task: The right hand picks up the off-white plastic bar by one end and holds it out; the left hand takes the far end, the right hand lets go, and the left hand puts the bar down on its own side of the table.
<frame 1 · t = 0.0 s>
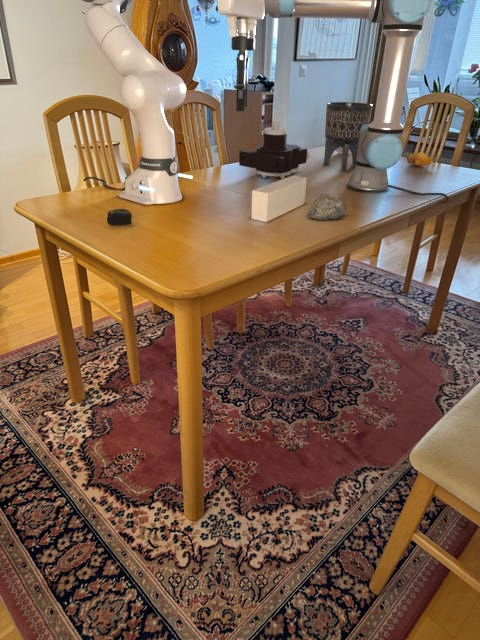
left hand: (242, 37, 122), 48 cm above the table, tool pointing down, fingers open, 8 cm apart
right hand: (241, 109, 155), 28 cm above the table, tool pointing down, fingers open, 13 cm apart
mechanical component: (280, 173, 196), on the table
bar: (279, 210, 149), on the table
tape measure: (121, 225, 133), on the table
figurine: (344, 153, 240), on the table
toy: (417, 165, 218), on the table
rock: (328, 216, 144), on the table
planter: (341, 167, 211), on the table
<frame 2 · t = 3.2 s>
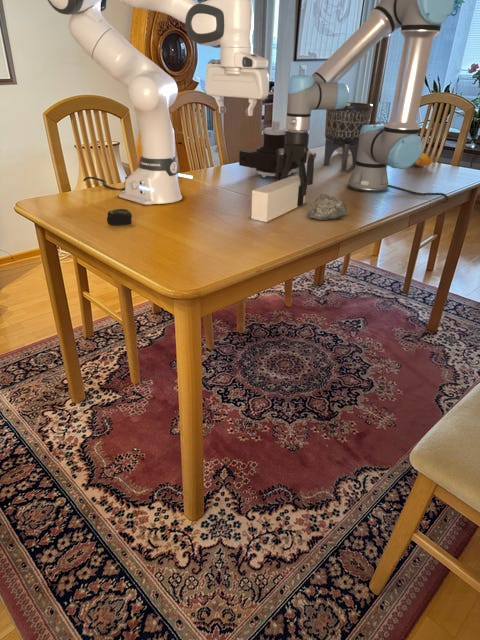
left hand: (235, 114, 133), 29 cm above the table, tool pointing down, fingers open, 8 cm apart
right hand: (291, 203, 155), 1 cm above the table, tool pointing down, fingers closed on bar, 6 cm apart
bar: (279, 210, 149), on the table, touching right hand
everything else where it was.
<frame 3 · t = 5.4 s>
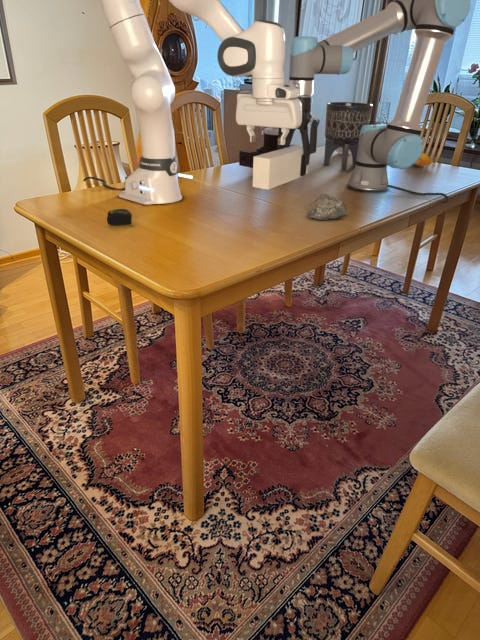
left hand: (267, 143, 132), 22 cm above the table, tool pointing down, fingers open, 8 cm apart
right hand: (294, 173, 150), 10 cm above the table, tool pointing down, fingers closed on bar, 6 cm apart
bar: (281, 180, 144), point 10 cm above the table, touching right hand
everything else where it was.
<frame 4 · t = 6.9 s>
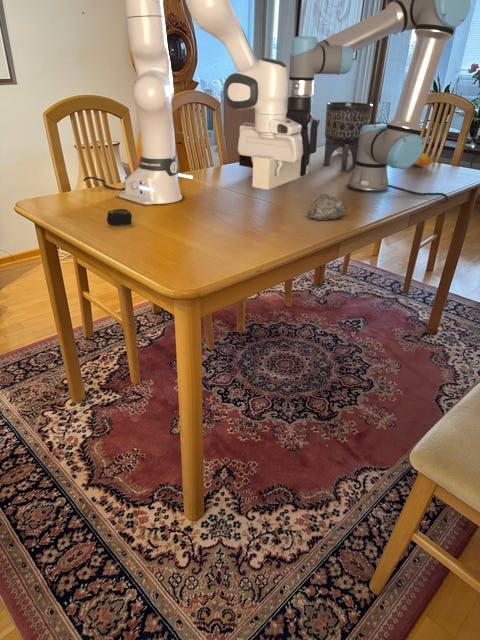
left hand: (267, 174, 136), 13 cm above the table, tool pointing down, fingers closed on bar, 5 cm apart
right hand: (294, 173, 150), 10 cm above the table, tool pointing down, fingers closed on bar, 6 cm apart
bar: (281, 180, 144), point 10 cm above the table, touching right hand, left hand
everything else where it was.
when the right hand's fingers open (10 cm above the table, at t = 7.9 s): bar stays where it is, held by the left hand.
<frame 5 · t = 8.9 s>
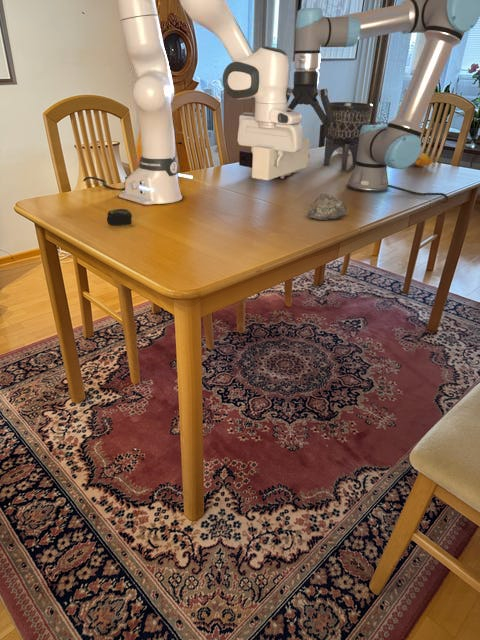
left hand: (267, 164, 135), 16 cm above the table, tool pointing down, fingers closed on bar, 5 cm apart
right hand: (302, 144, 147), 19 cm above the table, tool pointing down, fingers open, 13 cm apart
bar: (281, 171, 143), point 12 cm above the table, touching left hand
everything else where it was.
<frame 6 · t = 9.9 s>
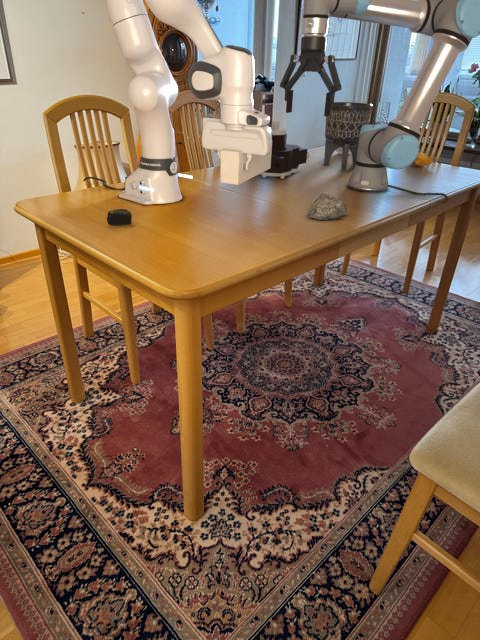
left hand: (235, 168, 129), 16 cm above the table, tool pointing down, fingers closed on bar, 5 cm apart
right hand: (307, 114, 145), 28 cm above the table, tool pointing down, fingers open, 13 cm apart
bar: (247, 174, 138), point 12 cm above the table, touching left hand
everything else where it was.
when the left hand's fingers open (5 cm above the table, at t = 13.0 s): bar drops 1 cm, on the table.
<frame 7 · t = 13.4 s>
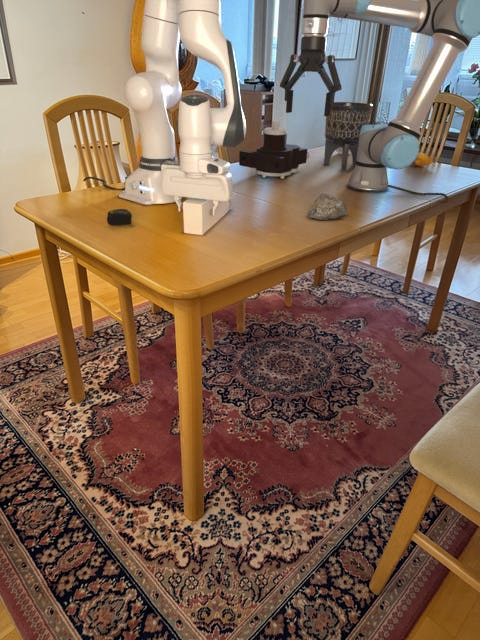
left hand: (197, 213, 129), 5 cm above the table, tool pointing down, fingers open, 8 cm apart
right hand: (307, 114, 145), 28 cm above the table, tool pointing down, fingers open, 13 cm apart
bar: (208, 220, 138), on the table
everything else where it was.
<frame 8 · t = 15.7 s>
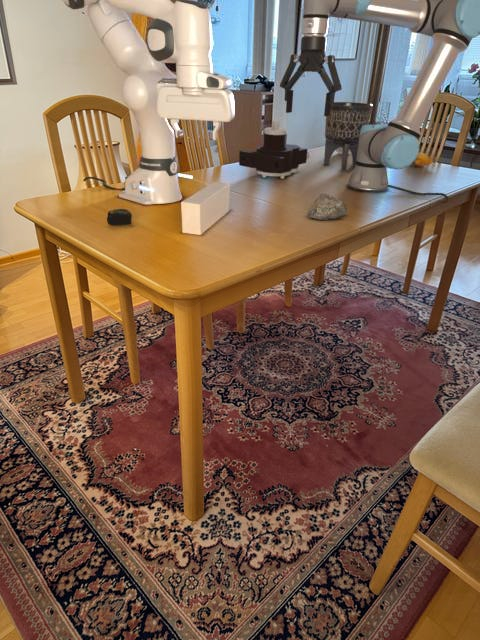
left hand: (196, 138, 119), 25 cm above the table, tool pointing down, fingers open, 8 cm apart
right hand: (307, 114, 145), 28 cm above the table, tool pointing down, fingers open, 13 cm apart
nothing on the table moved.
at the end: bar inside the target area (8.3 cm from its centre), on the table; the left hand is holding nothing; the right hand is holding nothing; bar at rest at the end (0.0 cm/s) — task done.
